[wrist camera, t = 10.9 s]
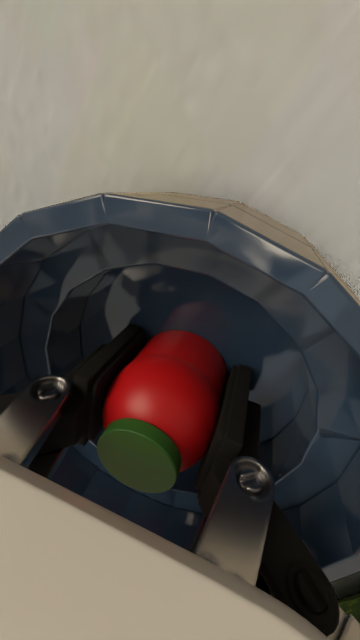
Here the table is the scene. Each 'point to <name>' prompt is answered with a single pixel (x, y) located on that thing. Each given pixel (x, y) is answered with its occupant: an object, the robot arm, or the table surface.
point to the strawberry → (162, 411)
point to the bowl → (209, 323)
